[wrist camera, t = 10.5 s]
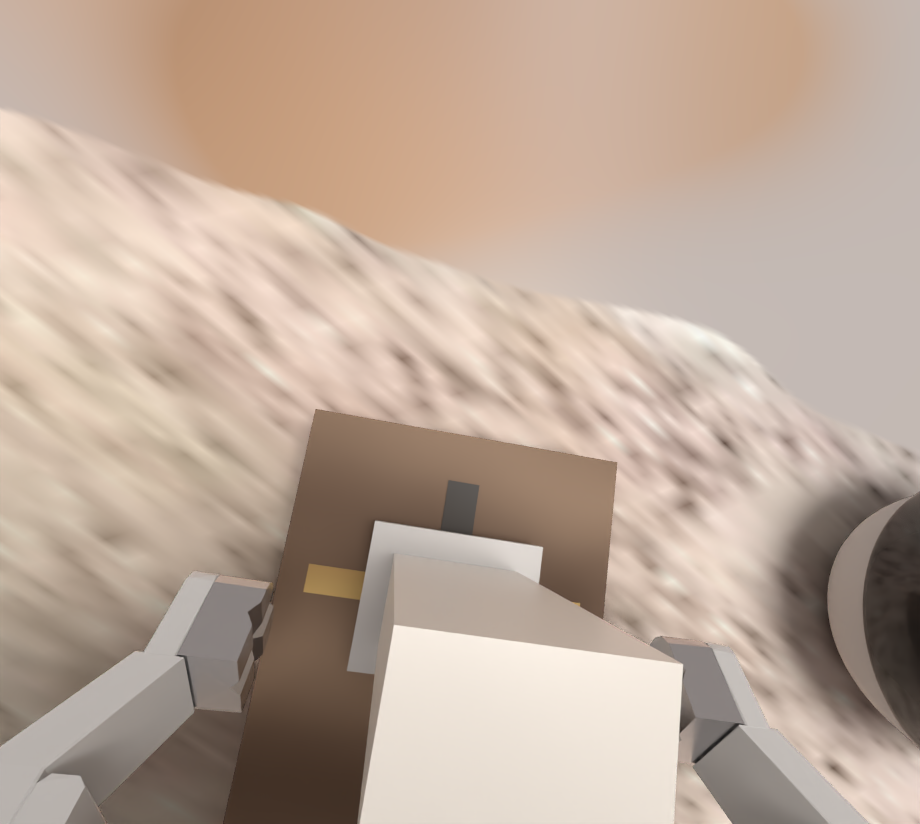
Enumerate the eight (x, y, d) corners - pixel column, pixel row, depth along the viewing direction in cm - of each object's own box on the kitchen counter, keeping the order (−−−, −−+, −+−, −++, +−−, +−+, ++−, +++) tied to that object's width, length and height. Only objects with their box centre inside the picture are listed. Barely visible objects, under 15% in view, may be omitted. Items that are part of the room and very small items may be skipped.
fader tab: (520, 685, 14) (723, 978, 5) (348, 663, 14) (267, 948, 5) (537, 545, 15) (737, 604, 6) (375, 520, 15) (347, 545, 6)
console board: (507, 1188, 15) (536, 1361, 12) (164, 1181, 14) (101, 1366, 11) (583, 468, 19) (617, 462, 16) (328, 424, 18) (315, 408, 15)
